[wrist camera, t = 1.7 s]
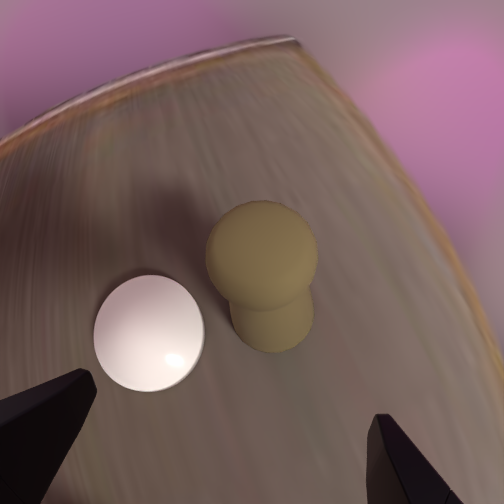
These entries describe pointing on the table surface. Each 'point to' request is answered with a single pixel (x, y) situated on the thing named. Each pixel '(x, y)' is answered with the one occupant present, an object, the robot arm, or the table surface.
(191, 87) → the table surface
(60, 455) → the robot arm
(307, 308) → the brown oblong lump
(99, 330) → the coaster
